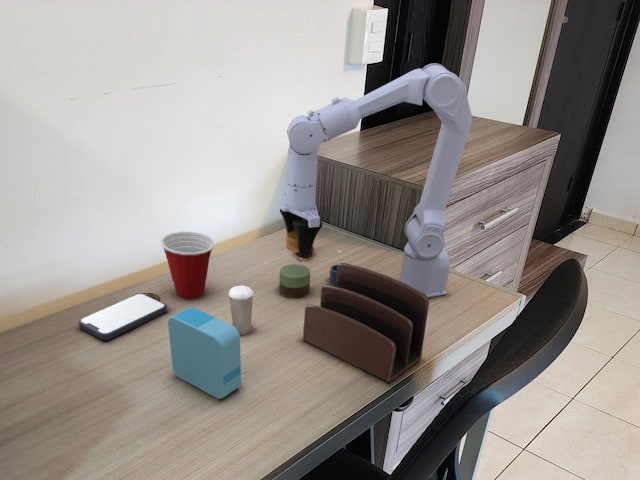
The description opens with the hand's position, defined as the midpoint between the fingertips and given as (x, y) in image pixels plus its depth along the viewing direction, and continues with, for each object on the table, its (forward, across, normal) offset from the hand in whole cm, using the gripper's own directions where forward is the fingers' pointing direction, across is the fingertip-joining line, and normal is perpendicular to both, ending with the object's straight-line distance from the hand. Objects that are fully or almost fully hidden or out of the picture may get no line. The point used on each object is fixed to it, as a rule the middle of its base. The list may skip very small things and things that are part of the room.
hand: (299, 248), depth 127 cm
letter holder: (+10, +26, +2) cm, 28 cm away
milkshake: (+10, +12, -16) cm, 22 cm away
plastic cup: (+10, -6, -22) cm, 25 cm away
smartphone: (+10, +1, -37) cm, 38 cm away
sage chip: (+7, 0, -1) cm, 7 cm away
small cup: (+10, -1, +10) cm, 14 cm away
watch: (+10, -17, +8) cm, 21 cm away
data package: (+10, +26, -27) cm, 39 cm away
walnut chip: (+10, 0, -1) cm, 10 cm away
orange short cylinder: (0, 0, 0) cm, 0 cm away
